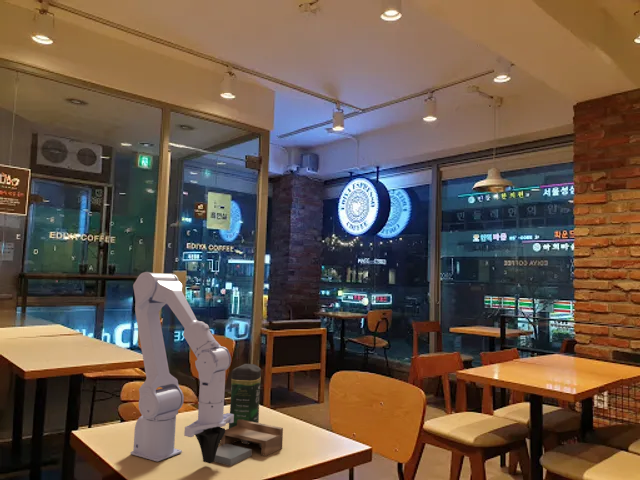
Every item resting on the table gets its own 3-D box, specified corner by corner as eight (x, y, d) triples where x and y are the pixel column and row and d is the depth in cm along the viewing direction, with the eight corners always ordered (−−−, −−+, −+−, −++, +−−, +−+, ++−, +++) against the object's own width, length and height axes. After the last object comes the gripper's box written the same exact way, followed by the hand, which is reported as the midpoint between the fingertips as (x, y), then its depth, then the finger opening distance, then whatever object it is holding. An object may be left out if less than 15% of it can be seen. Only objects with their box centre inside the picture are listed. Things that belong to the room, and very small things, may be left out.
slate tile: (204, 461, 118) (204, 452, 118) (225, 451, 125) (226, 443, 125) (230, 467, 114) (231, 458, 114) (251, 457, 121) (251, 449, 121)
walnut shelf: (220, 445, 127) (221, 425, 128) (239, 438, 134) (239, 419, 134) (265, 456, 121) (266, 435, 121) (282, 447, 127) (282, 427, 128)
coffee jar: (253, 437, 135) (256, 368, 137) (225, 435, 136) (228, 366, 138) (261, 427, 145) (264, 362, 147) (235, 425, 146) (238, 361, 147)
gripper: (202, 409, 106) (199, 475, 105) (244, 397, 119) (242, 455, 117) (178, 404, 110) (175, 468, 108) (222, 393, 122) (219, 450, 121)
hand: (208, 461), depth 113 cm, fingers closed
